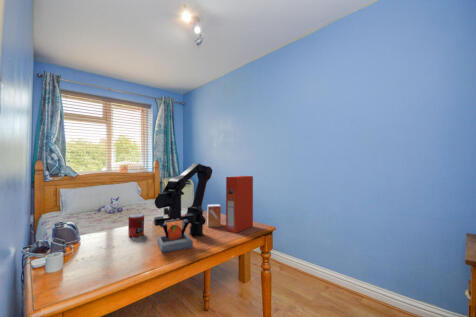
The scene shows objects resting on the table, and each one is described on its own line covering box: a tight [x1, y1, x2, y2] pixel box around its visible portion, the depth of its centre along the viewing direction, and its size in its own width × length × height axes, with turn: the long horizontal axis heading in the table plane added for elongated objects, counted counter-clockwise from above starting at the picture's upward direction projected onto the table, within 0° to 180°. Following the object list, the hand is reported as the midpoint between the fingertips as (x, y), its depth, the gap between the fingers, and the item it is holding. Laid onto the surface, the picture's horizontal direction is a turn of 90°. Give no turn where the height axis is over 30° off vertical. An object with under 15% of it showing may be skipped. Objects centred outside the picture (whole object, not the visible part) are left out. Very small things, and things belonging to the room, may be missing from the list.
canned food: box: [127, 212, 145, 238], centre depth 117 cm, size 8×8×11 cm
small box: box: [206, 203, 222, 228], centre depth 137 cm, size 8×6×13 cm
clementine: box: [167, 224, 182, 240], centre depth 104 cm, size 8×7×7 cm
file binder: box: [225, 175, 254, 234], centre depth 131 cm, size 8×17×32 cm, turn 143°
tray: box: [156, 232, 194, 254], centre depth 104 cm, size 14×14×3 cm
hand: (174, 236), depth 104 cm, fingers closed on clementine, 7 cm apart
